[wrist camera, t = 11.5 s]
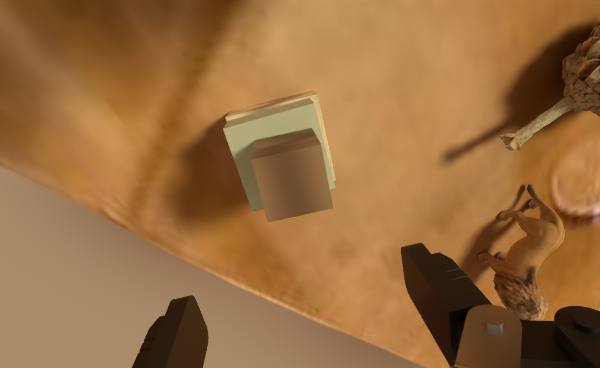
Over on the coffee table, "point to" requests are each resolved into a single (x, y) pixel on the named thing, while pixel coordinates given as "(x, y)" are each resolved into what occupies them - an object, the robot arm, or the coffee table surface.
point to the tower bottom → (283, 101)
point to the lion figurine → (526, 260)
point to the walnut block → (291, 174)
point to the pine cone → (569, 90)
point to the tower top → (266, 125)
